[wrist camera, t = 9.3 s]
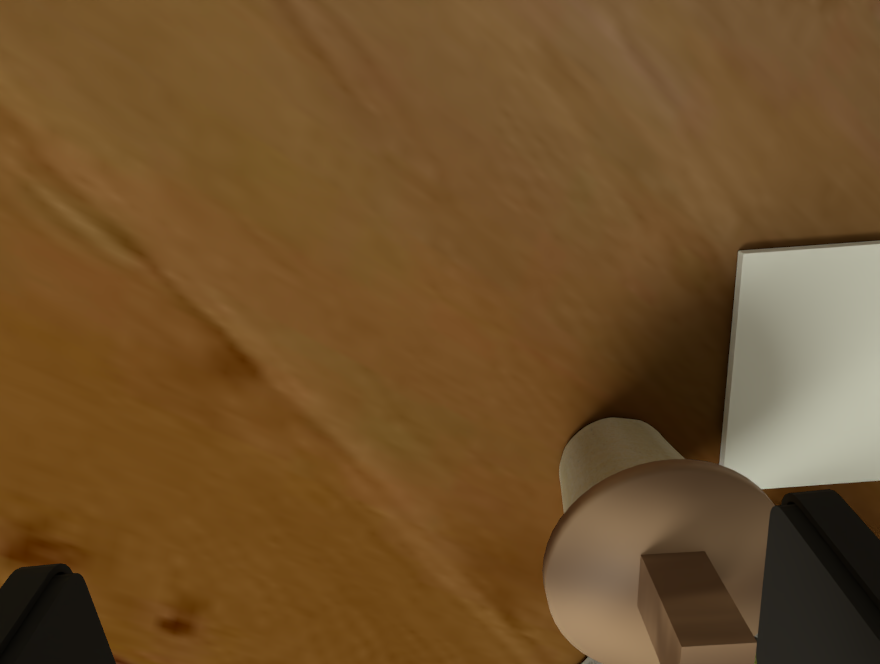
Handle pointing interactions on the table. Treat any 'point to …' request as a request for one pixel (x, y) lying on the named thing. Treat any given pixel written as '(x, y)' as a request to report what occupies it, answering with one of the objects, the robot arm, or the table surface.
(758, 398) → the mat
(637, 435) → the flower pot
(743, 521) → the lid
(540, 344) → the table surface
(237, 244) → the table surface
